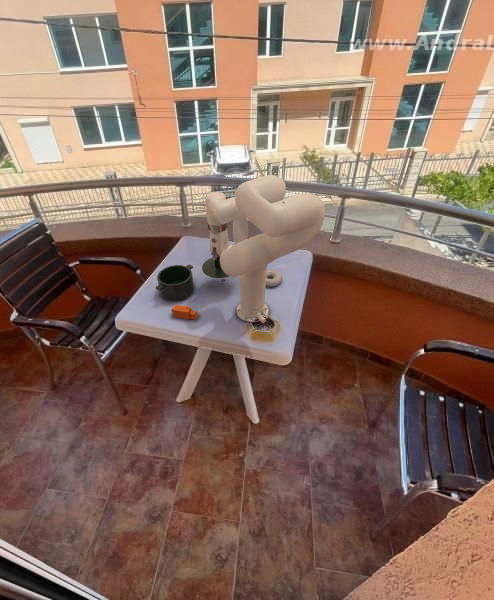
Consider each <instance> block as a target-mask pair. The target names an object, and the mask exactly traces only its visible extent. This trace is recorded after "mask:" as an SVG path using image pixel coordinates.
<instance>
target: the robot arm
mask: <svg viewBox="0 0 494 600" xmlns="http://www.w3.org/2000/svg"><path fill="white" fill-rule="evenodd" d="M286 192H287V185H286V183H285V181H284V180H283V178H282V177H280V176H278V175H275V174H267V175H263V176H260V177H257V178H254V179H250V180H247V181H244V182H242V183H241V184H239V185H238V187H237V188H236V189H235V193H234V196H233V197H232V196H231V197H229V198H227V197H226V195H225V193H223V192H221V191H213V192H209V193H208V194H206V196H205V199H204V200H205V201H204V202H205V211H206V213H205V214H206V222H207V231H208V232H209V250H210V251H209V252H210V255H211V256H212V258H213V260H214V261H215V268H221V269H222V270H223V271H224V272H225V273H226V274H227V275H229V277H232V278H235V277H239V303H238V305H237V306H236V315H237V317H238V318H239V319H240V320H242V321H243V322H246V323H250V322H249V320H250V319H253V318H258V319H259V320H258V321H253V322H252V323H257V322H258V323H259V322H260V323H262V324H265V323H266V322H267V319H268V318H269V317H270V315H269V311H270V310H269V306H268V305H267V303H266V286H265V285H266V271H267V270H268V269H267V268H268V265H269V264H271V263H273V262H275V261H276V260H278V259H280V258H282V257H285V256H288V255H290V254H293V253H295V252H296V251H299V250H300V249H302V248H304V247H305V246H307V245H308V244H310V243H311V242H312V241H313V240H314V239H315V238H316V237H317V235H318V234H319V232H320V231H321V229H322V226H323V224H324V221H325V214H326V213H325V212H326V211H325V210H326V209H325V204H324V201H323V200H322V198H320V197H319V196H318V195H317V194H313V193H298V194H295V195H292V196H289V197H286V198H285V196H286ZM244 216H245V217H246V219H247V221H249V222H250V223H252V225H254V226H255V227H256V228H257V229H258V230H260V231H261V233H258V234H256V235H254V236H251V237H249V238H248V237H247V239H246V240H243V241H241V242H239V243H237V244H232V246H231V247H229V246H230V243H229V242H230V241H229V233H228V232H229V231H228V223H230V222H233V220H235V219H238V218H241V217H244ZM228 247H229V248H228ZM227 248H228V249H227ZM217 256H219V257H217ZM262 315H264V316H265V317H266V318H264V317H263V316H262Z"/></svg>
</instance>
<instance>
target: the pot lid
mask: <svg viewBox="0 0 494 600" xmlns="http://www.w3.org/2000/svg"><path fill="white" fill-rule="evenodd" d="M217 257H219V256H217ZM201 270H202V272H203V274H204V275H205V276H207V277H210V278H212V279H225V278H229V277H230V276H229V275H227V274H226V273H225V272H224V271H223V270H222V269H221V268H215V261H214V260H213V257H211V258H210V257H209V258H208V259H207V260H205V261H204V262H203V264H202V265H201Z"/></svg>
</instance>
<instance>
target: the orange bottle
mask: <svg viewBox="0 0 494 600" xmlns="http://www.w3.org/2000/svg"><path fill="white" fill-rule="evenodd" d="M171 313H172V315H173V317H174V318H180V319H185V320H194V321H196V320H197V318H198V317H199V314H198V311H197V310H192V306H186V305H181V304H174V306H173V307H172V308H171Z"/></svg>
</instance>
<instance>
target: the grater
mask: <svg viewBox="0 0 494 600" xmlns="http://www.w3.org/2000/svg"><path fill="white" fill-rule="evenodd" d="M248 235H249V223H248V219H247V218H246V217H245V216H244V217H241V218H238V219H235V220H233V221H232V237H233V243H234V244H233V245H235V244H237V243H239V242H241V241H243V240H246V239H248V237H249V236H248Z"/></svg>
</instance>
